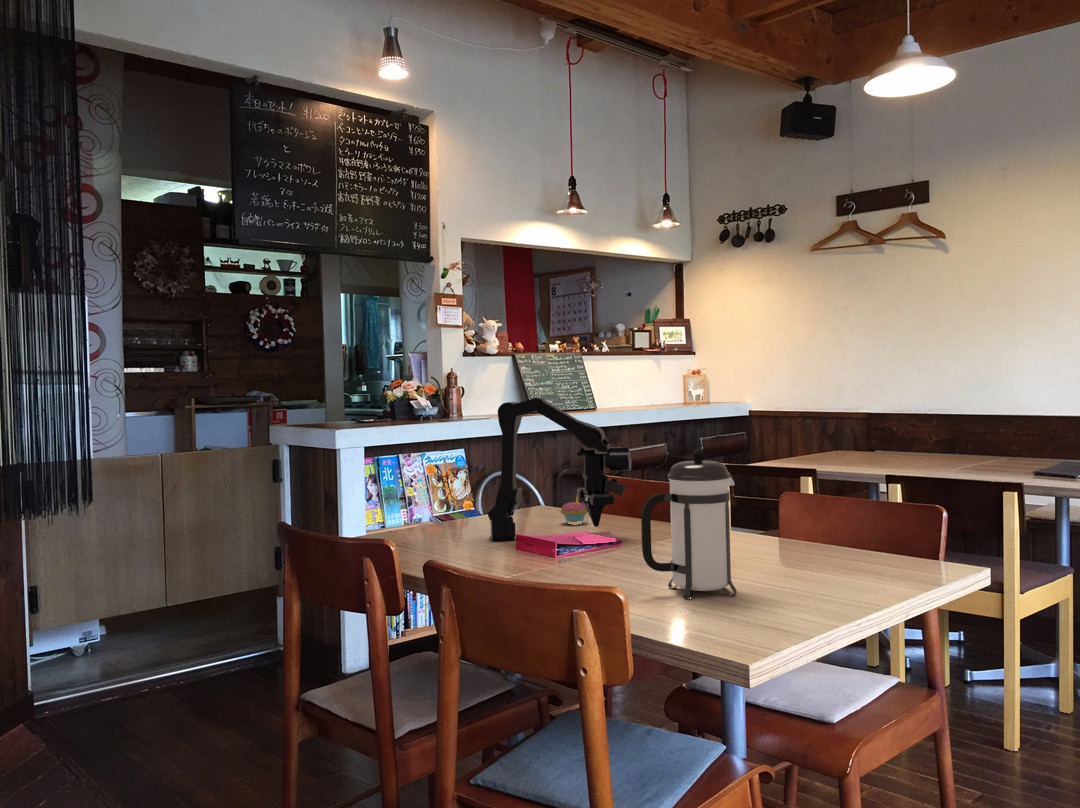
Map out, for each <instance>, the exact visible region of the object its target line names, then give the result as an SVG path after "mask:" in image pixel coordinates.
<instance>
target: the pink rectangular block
mask: <svg viewBox="0 0 1080 808" xmlns="http://www.w3.org/2000/svg"><path fill="white" fill-rule="evenodd" d="M587 533H588V534H595V535H600V536H604V537H609V538H616V539H617V535H615V534H614V533H612V532H610V531H598V532H587Z"/></svg>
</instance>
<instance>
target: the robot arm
mask: <svg viewBox="0 0 1080 808" xmlns="http://www.w3.org/2000/svg"><path fill="white" fill-rule="evenodd" d="M534 412H536V413H537V414H540V415H542V416H543V417H545V418H546V419H548V420H550V421H552V422H553V423H555V424H557V425H558V426H560V427H561V428H563V429H565V430H567V431H569V432H570V433H571V434H572V435H573V436H574V437H575V438H576V440H578V441H579V442H580V443H582V444H583V445H584V446H582V447H581V448H580V450H579V451H578V452H576V456H577V457H578V456H579V457H580V456H581V457H582V456H583V465H584V466H583V470H584V473H583V474H582V479H583V480H584V487H578V488H579V489H578V491H577V490H576V498H579V499H582V498H584V499H585V500H582V502H581V503H582V504H584V506H585V508H586V510H587V514H588V516H589V518H590V520H591V523H592V525H593V527H595V528H598V527H599V526H600V521H601V518H602V517H601V516H602V513H603V509H604V508H605V507H606V506H608V505H615V504H616V498H615V496H614V495H618V496H620V497H623V496H624V493H625V490H626V485H625V484H621V483H618V479H617V478H613V477H610V478H609V476H608V475H607V474H606V473H605V472H606V471H605V469H606V468H607V469H609V471H610V472H631V471H632V456H631V451H630V446H620V447H615V446H614V447H613V446H612V445H611V444H610V443H609V441H608V440H607V439H606V435H605V432H604V430H603V429H602V428H601V427H599V426H596V425H594V424H592V423H588V422H585V421H582V420H580V419H577V418H576V417H574V416H572V415H571V414H568V413H567V412H566V411H563V409H560V408H558V407H557V406H555V405H553V404H551V403H550V402H549V401H547V400H546V399H544V398H543V397H540V396H539V397H537V396H536V397H533V398H531V399H527V400H524V401H520V402H519V401H518V402H516V401H508V402H503V403H501V404H500V405H499V406H498V408H497V418H498V424H499V428H500V431H501V435H502V436H501V460H500V461H501V463H500V484H499V486H498V490H497V492H496V498H495V501H494V502H495V503H494V506H493V507H492V508H491V509H490V510H489V511H488V512H487V516H488V518H489V523H490V536H489V539H490V541H492V542H504V541H505V542H507V541H515V540H516V538H515V537H516V536H517V535H516V523H515V522H514V517H513V516H514V514H515V511H517V509H519V508H520V505H521V503H523V497H522V493H523V487H518V483H517V451H518V450H517V448H518V446H517V445H518V433H519V430H520V426H521V425H522V424H521V423H522V418H523V416H525V415H529V414H532V413H534ZM587 448H589V449H587ZM593 448H594V449H593ZM597 450H598V451H597ZM612 493H613V494H614V495H613V494H612Z"/></svg>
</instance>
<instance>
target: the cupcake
mask: <svg viewBox="0 0 1080 808" xmlns="http://www.w3.org/2000/svg"><path fill="white" fill-rule="evenodd" d="M579 488H580V487H578V489H579ZM578 489H577V490H576V492H577V491H578ZM575 498H576V499H575V500H576V501H569V502H567V503H565V504H564V505H562V506H561V508H560V514H562V515H563V516H564V518H565V521H566V522H567V521H569V522H577V521H583V522H584V520H585V517H586V515H587V514H588V512H587V510H586V508H585V506H584V504H583V502H580V501H579V499H580V498H577V497H575Z"/></svg>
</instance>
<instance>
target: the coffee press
mask: <svg viewBox="0 0 1080 808" xmlns="http://www.w3.org/2000/svg"><path fill="white" fill-rule="evenodd" d="M704 455H705V453H704V451H703V450H702V449H701V448H695V449H693V452H692V456H693V458H694V459H693V460H685V461H680V462H677V463H675V464H673V465H672V466H671V468H670V471H669V473H667V479H668V481H669V491H668V493H657V494H654V495H652V496H650V497H649V498H647V500H646V501H645V503H644V505H643V507H642V511H641V518H640V519H641V521H640V522H641V524H640V525H641V548H642V551H641V552H642V556H643V557H642V558H643V560H644V562H645V564H646V565H647V566H648V567H649V568H650V569H652V570H653V571H656V572H665V573H666V572H671V573H672V577H671V579H670V580H669V582H668V584H667V585H668V588H669V589H670V588H671V587H674V589H676V588H677V587H678V588H681V589H684V591H683V599H684V598H689V599H688V600H690V597H692V598H693V597H694V594H695V593H696V592H711V591H719V590H721V591H724V592H725V593H726V594H727V596H729V595H730V594H733V596H732V597H734V596H735V595H737V592H738V590H737V588H736V587H735V586H734V583H733V582H732V574H731V571H732V568H731V566H732V565H731V538H730V537H731V536H730V535H731V533H730V532H731V531H730V527H731V526H730V501H731V494H730V493H731V491H730V490H729V486H730V487H731V486H735V481H734V479H733V478H732V477H731V473H730V472H728V469H727V466H726V465H725V464H723V463H721V462H719V461H715V460H714V461H713V460H703V459H702V458H703V457H704ZM665 502H669V505H670V539H671V542H670V543H671V560H670V562H657V561H656V560H655V559H654V557H653V553H652V527H651V525H652V524H651V518H652V516H651V515H652V511H653V508H655V507H656V506H657V505H658V504H660V503H665ZM672 583H674V585H675V586H673V584H672ZM728 586H729V587H730V588H731V590H732V592H733V593H732V592H731V591H730V590H729V589H728V588H727V587H728Z"/></svg>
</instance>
